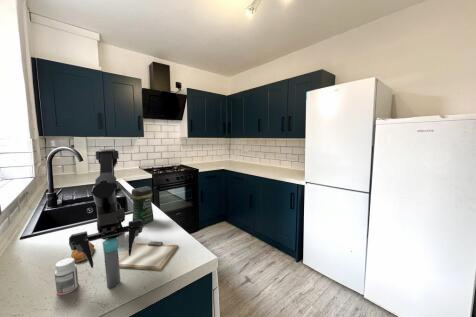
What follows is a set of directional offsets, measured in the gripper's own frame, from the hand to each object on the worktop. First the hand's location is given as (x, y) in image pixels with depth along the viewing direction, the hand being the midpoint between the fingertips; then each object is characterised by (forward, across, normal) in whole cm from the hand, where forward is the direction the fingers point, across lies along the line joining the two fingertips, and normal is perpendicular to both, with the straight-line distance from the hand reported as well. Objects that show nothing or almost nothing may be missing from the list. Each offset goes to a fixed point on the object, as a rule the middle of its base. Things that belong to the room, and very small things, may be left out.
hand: (111, 261), depth 56 cm
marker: (+5, 0, +6) cm, 8 cm away
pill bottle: (+1, -11, +10) cm, 15 cm away
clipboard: (-2, +11, +12) cm, 16 cm away
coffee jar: (-25, +16, +36) cm, 46 cm away
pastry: (-12, -8, +23) cm, 28 cm away
